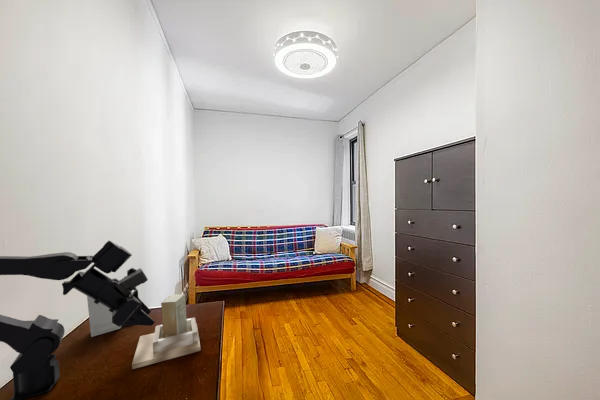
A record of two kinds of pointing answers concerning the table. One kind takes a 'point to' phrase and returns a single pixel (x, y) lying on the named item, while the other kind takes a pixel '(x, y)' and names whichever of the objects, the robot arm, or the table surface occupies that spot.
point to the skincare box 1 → (100, 318)
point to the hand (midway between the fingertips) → (151, 317)
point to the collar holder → (166, 345)
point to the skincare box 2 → (174, 315)
